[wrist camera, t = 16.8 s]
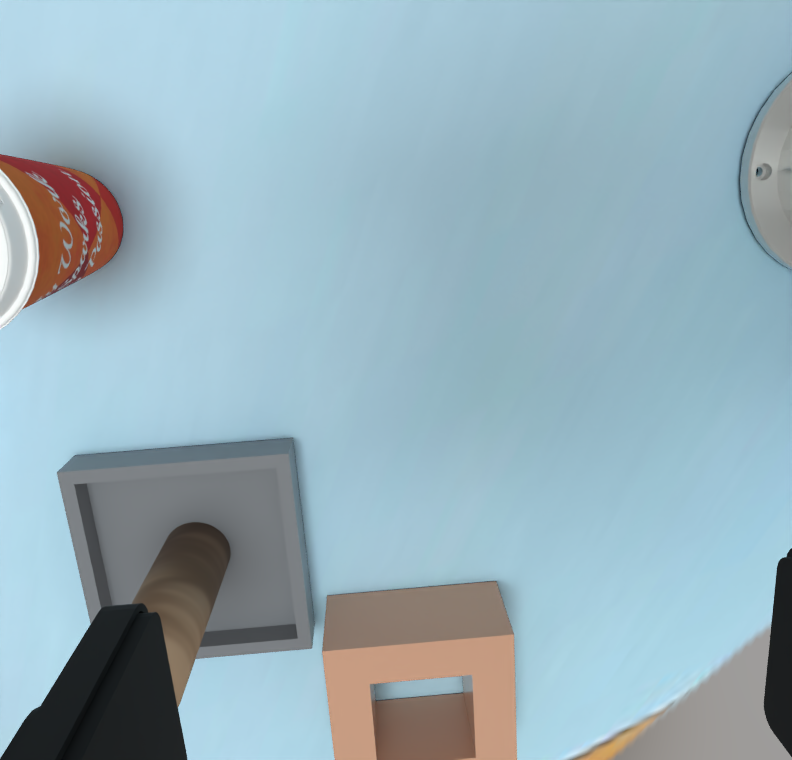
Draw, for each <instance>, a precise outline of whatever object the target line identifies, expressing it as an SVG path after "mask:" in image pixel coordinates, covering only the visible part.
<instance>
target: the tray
mask: <svg viewBox="0 0 792 760" xmlns="http://www.w3.org/2000/svg"><path fill="white" fill-rule="evenodd" d="M57 475H58V480H59V484H60V489H61V493H62V498H63V502H64V507H65V511H66V515H67V520H68V524H69V529H70V533H71V538H72V542H73V547H74V551H75V556H76V560H77V565H78V569H79V574H80V578H81V582H82V587H83V591H84V596H85V600H86V605H87V609H88V614H89V618H90V623H92V622H93V620H94V618H95V617H96V615H97V613H98V612H99V611H100V609H101V608H102V607H105V606H114V605H125V604H132V602H133V600H134V598H135V596H136V594H137V593H138V591H139V589H140V587H141V585H142V583H143V582H144V580H145V578H146V576H147V574H148V572H149V571H150V569H151V567H152V565H153V563H154V561H155V559H156V558H157V556H158V554H159V552H160V550H161V548H162V547H163V545H164V543H165V541H166V539H167V537H168V536H169V534H170V533H171V532H172V531H173V530H174V529H176V528H177V527H179V526H181V525H183V524H186V523H191V522H201V523H206V524H209V525H211V526H213V527H215V528H217V529H218V530H219V531H221V532H222V533H223V534H224V536H225V537H226V539H227V540H228V543H229V545H230V551H231V555H230V560H229V563H228V566H227V569H226V572H225V575H224V578H223V581H222V583H221V586H220V589H219V592H218V595H217V598H216V601H215V604H214V607H213V609H212V612H211V615H210V618H209V621H208V624H207V627H206V630H205V632H204V635H203V638H202V641H201V644H200V647H199V650H198V653H197V656H196V658H195V659H199V658H210V657H222V656H233V655H244V654H255V653H267V652H278V651H289V650H301V649H312V644H313V635H314V626H315V621H314V613H313V604H312V596H311V587H310V579H309V570H308V562H307V554H306V545H305V537H304V528H303V520H302V511H301V503H300V494H299V486H298V477H297V469H296V460H295V452H294V443H293V438H285V439H273V440H261V441H248V442H236V443H223V444H211V445H198V446H186V447H174V448H161V449H149V450H136V451H124V452H112V453H99V454H87V455H75V456H74V457H73V458H72V459H71V460H69V461H68V462H67V463H66V464H65V465H64V466H63V467H62V468H61V469H60V470H59V471H58V472H57Z"/></svg>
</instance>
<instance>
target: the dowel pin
mask: <svg viewBox="0 0 792 760" xmlns="http://www.w3.org/2000/svg"><path fill="white" fill-rule="evenodd" d="M230 555H231V551H230V545H229V543H228V540H227V539H226V537H225V536H224V534H223V533H222V532H221V531H219V530H218V529H217V528H215V527H213V526H211V525H209V524H206V523H201V522H191V523H186V524H183V525H181V526H179V527H177V528H176V529H174V530H173V531H172V532H171V533H170V534H169V536H168V537H167V539H166V541H165V543H164V545H163V547H162V548H161V550H160V552H159V554H158V556H157V558H156V559H155V561H154V563H153V565H152V567H151V569H150V571H149V572H148V574H147V576H146V578H145V580H144V582H143V583H142V585H141V587H140V589H139V591H138V593H137V594H136V596H135V598H134V600H133V602H132V604H137V603H143V604H144V605H145V606H146V608H147V609H148V613H150V612H157V613H158V614H159V616H160V619H161V623H162V628H163V634H164V639H165V644H166V649H167V655H168V660H169V665H170V670H171V676H172V681H173V686H174V691H175V697H176V702H177V707H178V706H179V704H180V702H181V699H182V696H183V693H184V690H185V687H186V684H187V681H188V679H189V676H190V673H191V670H192V667H193V664H194V661H195V658H196V656H197V653H198V650H199V647H200V644H201V641H202V638H203V635H204V632H205V630H206V627H207V624H208V621H209V618H210V615H211V612H212V609H213V607H214V604H215V601H216V598H217V595H218V592H219V589H220V586H221V583H222V581H223V578H224V575H225V572H226V569H227V566H228V563H229V560H230Z"/></svg>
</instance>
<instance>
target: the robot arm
mask: <svg viewBox="0 0 792 760" xmlns="http://www.w3.org/2000/svg"><path fill="white" fill-rule="evenodd" d="M756 169H758V174H757V176H756ZM740 185H741V200H742V204H743V208H744V212H745V215H746V219H747V222H748V224H749V226H750V228H751V230H752V232H753V234H754V236H755V238H756V239H757V241H758V242H759V243H760V244H761V246H762V247H763V248H764V249H765V250H766V252H767V253H768V254H769V255H770V256H772V257H773V258H774V259H775V260H777V261H778V262H779V263H781V264H782V265H783V266H785V267H787V268H789V269H791V270H792V73H791V74H790V75H789V76H788V77H787V78H786V79H785V80H784V81H783V82H782V83H781V84H780V85H779V86H778V87H777V88H776V89H775V90H774V92H773V93H772V95H771V96H770V97H769V99H768V100H767V102H766V103H765V105H764V106H763V107H762V109H761V110H760V112H759V114H758V116H757V118H756V120H755V122H754V124H753V127H752V129H751V131H750V133H749V136H748V139H747V143H746V146H745V150H744V153H743V157H742V166H741V175H740ZM764 710H765V715H766V718H767V721H768V724H769V726H770V728H771V729H772V731H773V732H774V734H775V735H776V737H777V738H778V739H779V741H780V742H781V743H782V744H783V746H784V747H785V748H786V750H787V751H788V753H789V754H790V755H791V757H792V548H791V549H790V550H789V552H788V554H787V557H785V558H782V559H780V561H779V563H778V566H777V575H776V585H775V595H774V605H773V615H772V625H771V636H770V647H769V657H768V666H767V677H766V686H765V696H764ZM0 760H187V754H186V749H185V744H184V739H183V733H182V728H181V723H180V718H179V712H178V707H177V702H176V697H175V691H174V686H173V681H172V676H171V670H170V665H169V660H168V655H167V649H166V644H165V639H164V634H163V628H162V623H161V619H160V616H159V614H158V613H157V612H150V613H148V609H147V608H146V606H145V605H144V604H143V603H137V604H125V605H114V606H105V607H102V608H101V609H100V611H99V612H98V613H97V615H96V617H95V618H94V620H93V622H92V623H91V625H90V626H89V628H88V630H87V631H86V633H85V635H84V636H83V638H82V639H81V641H80V643H79V644H78V646H77V648H76V649H75V651H74V652H73V654H72V656H71V657H70V659H69V661H68V662H67V664H66V666H65V667H64V669H63V670H62V672H61V674H60V675H59V677H58V679H57V680H56V682H55V683H54V685H53V687H52V688H51V690H50V692H49V693H48V695H47V696H46V698H45V700H44V701H43V703H42V705H41V706H40V707H38V708H36V709H34V710H33V711H32V712H31V713H30V714H29V715H28V716H27V718H26V719H25V720H24V722H23V723H22V725H21V727H20V728H19V730H18V731H17V733H16V735H15V736H14V738H13V739H12V741H11V742H10V744H9V746H8V747H7V749H6V750H5V752H4V754H3V755H2V757H1V758H0Z"/></svg>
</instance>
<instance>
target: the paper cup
mask: <svg viewBox="0 0 792 760" xmlns="http://www.w3.org/2000/svg"><path fill="white" fill-rule="evenodd" d="M122 235H123V220H122V215H121V211H120V208H119V206H118V204H117V202H116V200H115V198H114V197H113V195H112V194H111V193H110V191H109V190H108V189H107V188H106V187H105V186H104V185H103V184H102V183H101V182H99V181H98V180H96V179H95V178H93V177H92V176H90V175H88V174H86V173H83V172H80V171H77V170H74V169H70V168H66V167H62V166H57V165H52V164H47V163H42V162H37V161H32V160H27V159H22V158H17V157H12V156H6V155H1V154H0V329H1V328H3V327H4V326H6V325H8V324H9V323H10V322H11V321H12V320H13V319H14V318H15V317H16V316H17V315H18V314H19V313H20V311H21V310H22V309H24V308H26V307H28V306H30V305H32V304H34V303H36V302H38V301H39V300H41V299H43V298H45V297H47V296H49V295H51V294H53V293H55V292H57V291H59V290H61V289H63V288H65V287H67V286H69V285H71V284H73V283H74V282H76V281H78V280H80V279H82V278H84V277H86V276H88V275H89V274H91V273H93V272H95V271H96V270H98V269H100V268H101V267H102V266H104V265H105V264H106V263H108V262H109V261H110V260H111V259H112V257H113V256H114V255H115V253H116V252H117V250H118V248H119V246H120V243H121V240H122Z"/></svg>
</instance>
